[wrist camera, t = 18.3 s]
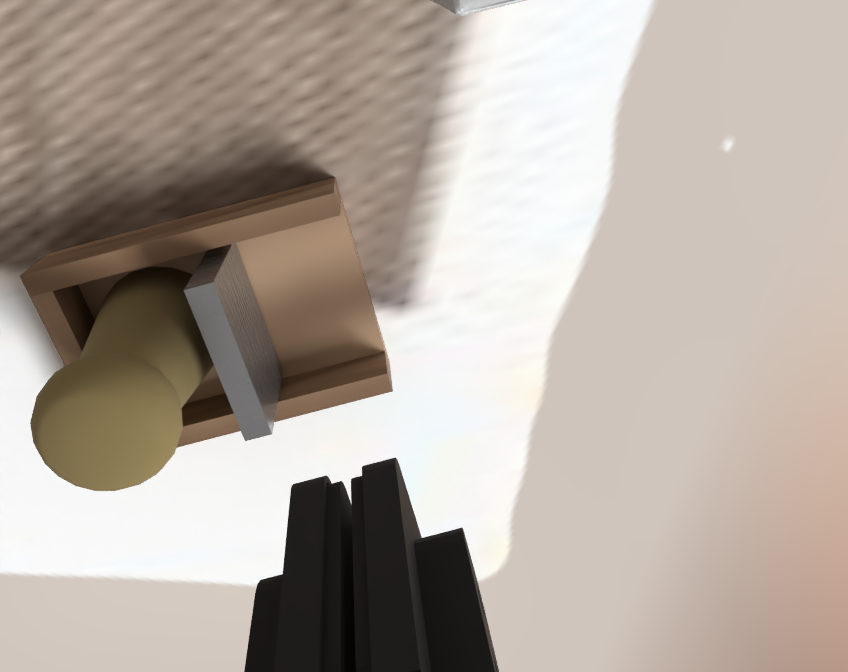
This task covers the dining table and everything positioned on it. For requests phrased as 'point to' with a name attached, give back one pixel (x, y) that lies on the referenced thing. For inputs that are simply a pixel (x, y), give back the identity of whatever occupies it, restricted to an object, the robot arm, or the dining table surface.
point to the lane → (272, 284)
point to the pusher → (236, 338)
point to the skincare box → (472, 5)
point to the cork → (124, 386)
